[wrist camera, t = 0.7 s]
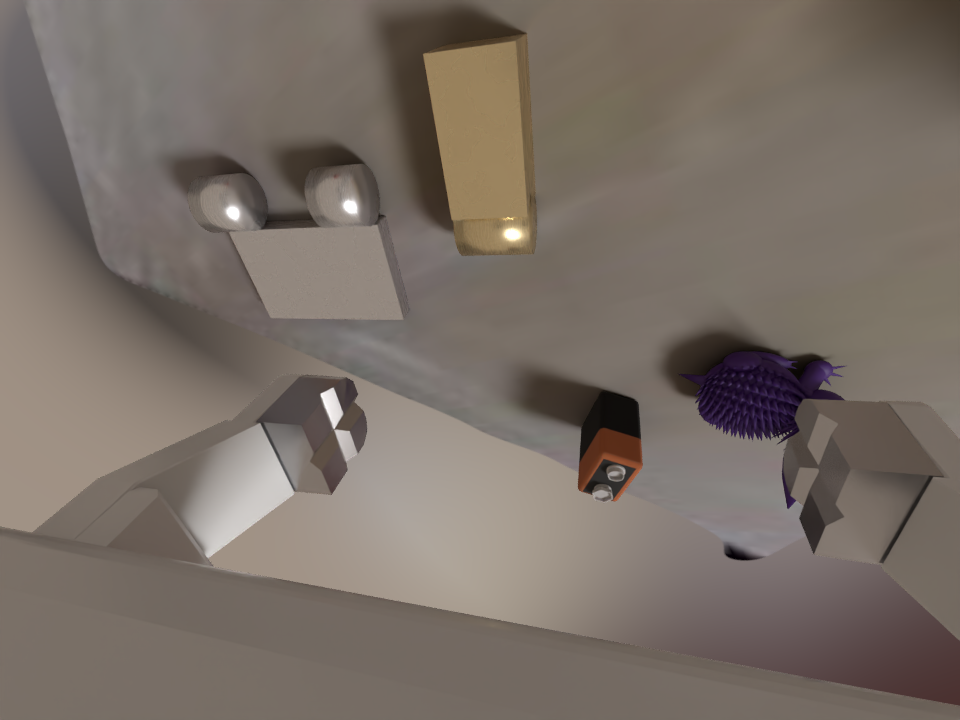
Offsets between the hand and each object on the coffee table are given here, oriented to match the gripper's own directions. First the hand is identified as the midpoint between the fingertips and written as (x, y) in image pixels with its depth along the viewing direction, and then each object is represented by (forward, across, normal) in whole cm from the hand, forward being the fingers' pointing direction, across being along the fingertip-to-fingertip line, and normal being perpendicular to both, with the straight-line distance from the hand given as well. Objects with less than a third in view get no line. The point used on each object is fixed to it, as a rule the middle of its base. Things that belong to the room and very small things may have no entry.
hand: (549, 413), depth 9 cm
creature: (+35, -16, +23) cm, 45 cm away
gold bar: (+32, +8, 0) cm, 33 cm away
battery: (+36, -1, +29) cm, 46 cm away
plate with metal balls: (+33, +27, +7) cm, 43 cm away
